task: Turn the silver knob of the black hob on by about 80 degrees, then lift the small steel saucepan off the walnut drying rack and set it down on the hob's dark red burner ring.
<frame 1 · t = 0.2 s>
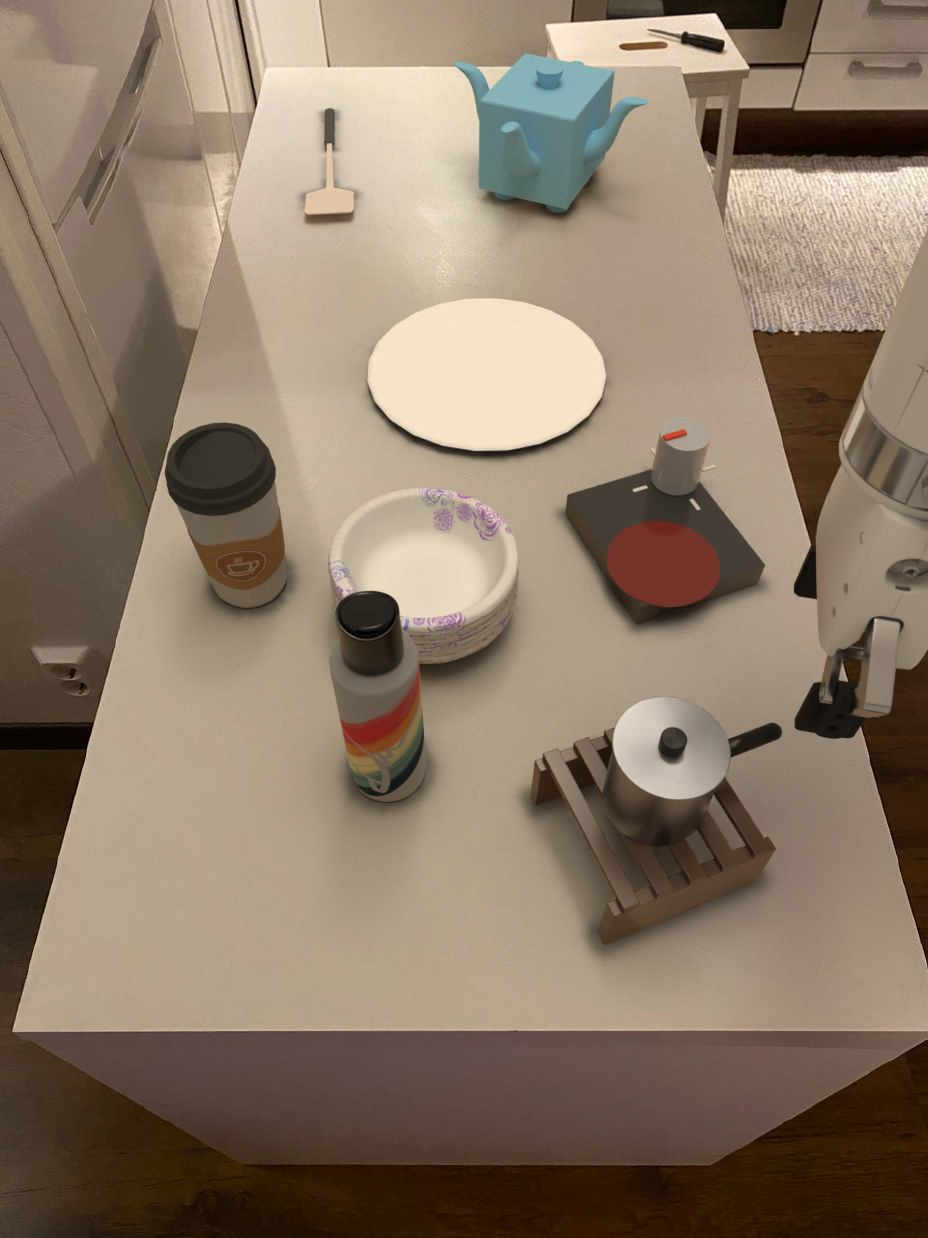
hand: (820, 659, 55), 19 cm above the counter, tool pointing down, fingers open, 9 cm apart
lotion bottle: (389, 771, 72), on the counter
spatula: (330, 165, 127), on the counter
teakettle: (538, 191, 123), on the counter
saucepan: (653, 799, 64), point 6 cm above the counter, touching drying rack
coffee cup: (252, 583, 83), on the counter
hob knob: (680, 455, 85), point 5 cm above the counter, hinge at 0.0°
burner ring: (663, 562, 81), resting on hob
hob: (658, 547, 85), on the counter
plate: (486, 377, 100), on the counter
paper bowls: (426, 614, 81), on the counter
drying rack: (640, 836, 68), on the counter
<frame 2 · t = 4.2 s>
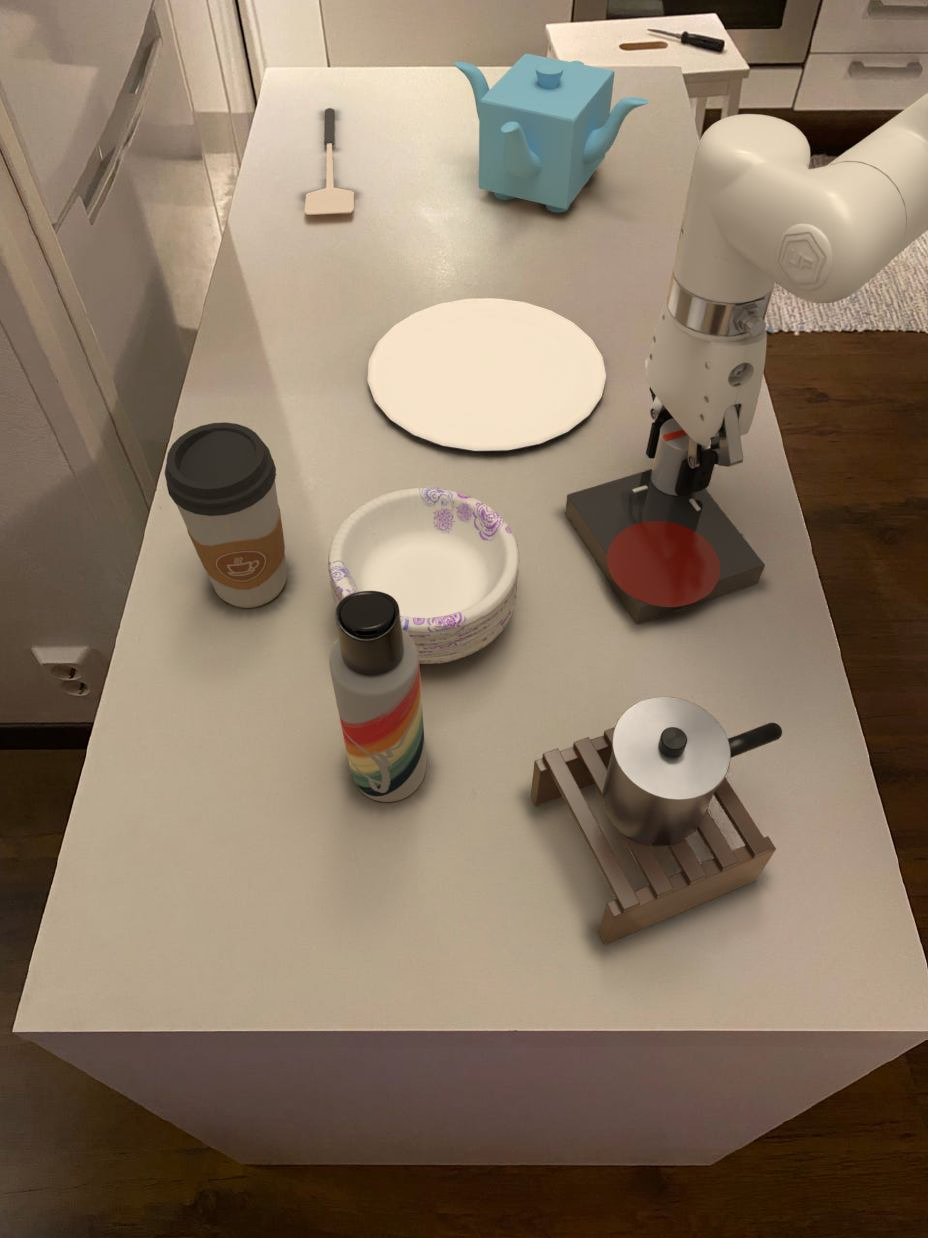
hand: (676, 469, 86), 4 cm above the counter, tool pointing down, fingers closed on hob knob, 4 cm apart
hob knob: (680, 455, 85), point 5 cm above the counter, hinge at -0.2°, touching gripper
everything else where it was.
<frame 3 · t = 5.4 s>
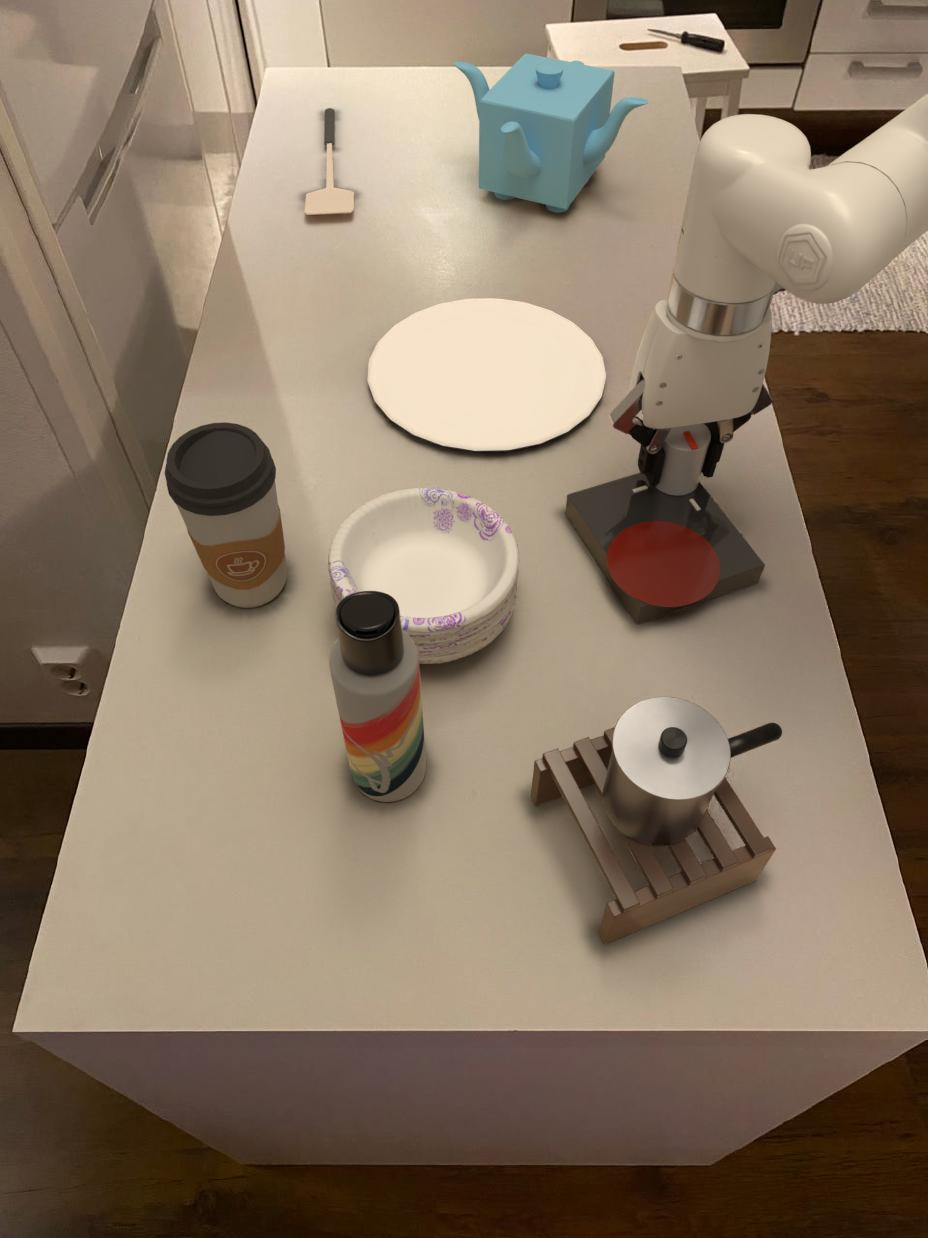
hand: (676, 469, 86), 4 cm above the counter, tool pointing down, fingers closed on hob knob, 4 cm apart
hob knob: (680, 455, 85), point 5 cm above the counter, hinge at 80.7°, touching gripper
everything else where it was.
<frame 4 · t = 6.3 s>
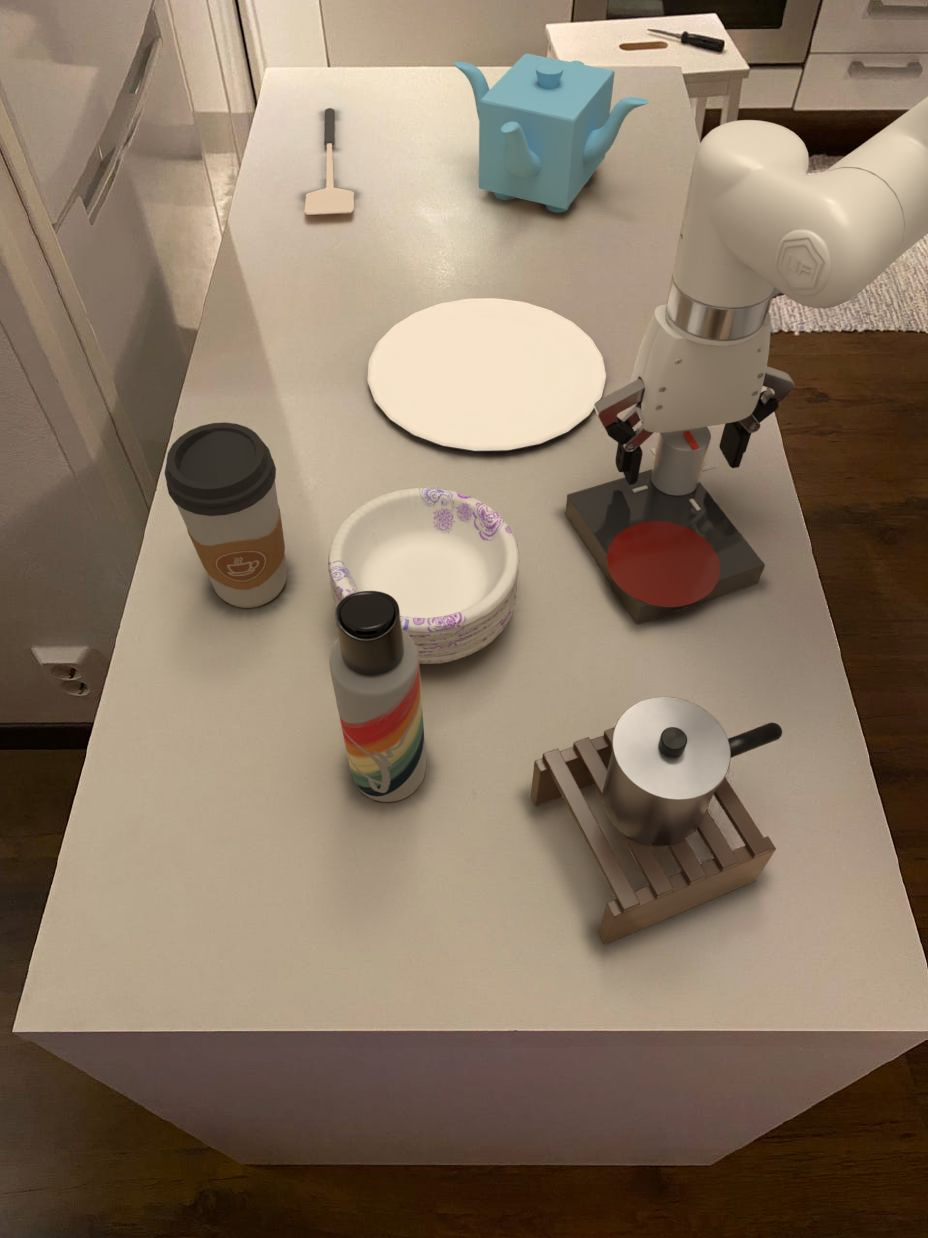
hand: (678, 465, 86), 4 cm above the counter, tool pointing down, fingers open, 9 cm apart
hob knob: (680, 455, 85), point 5 cm above the counter, hinge at 82.4°
everything else where it was.
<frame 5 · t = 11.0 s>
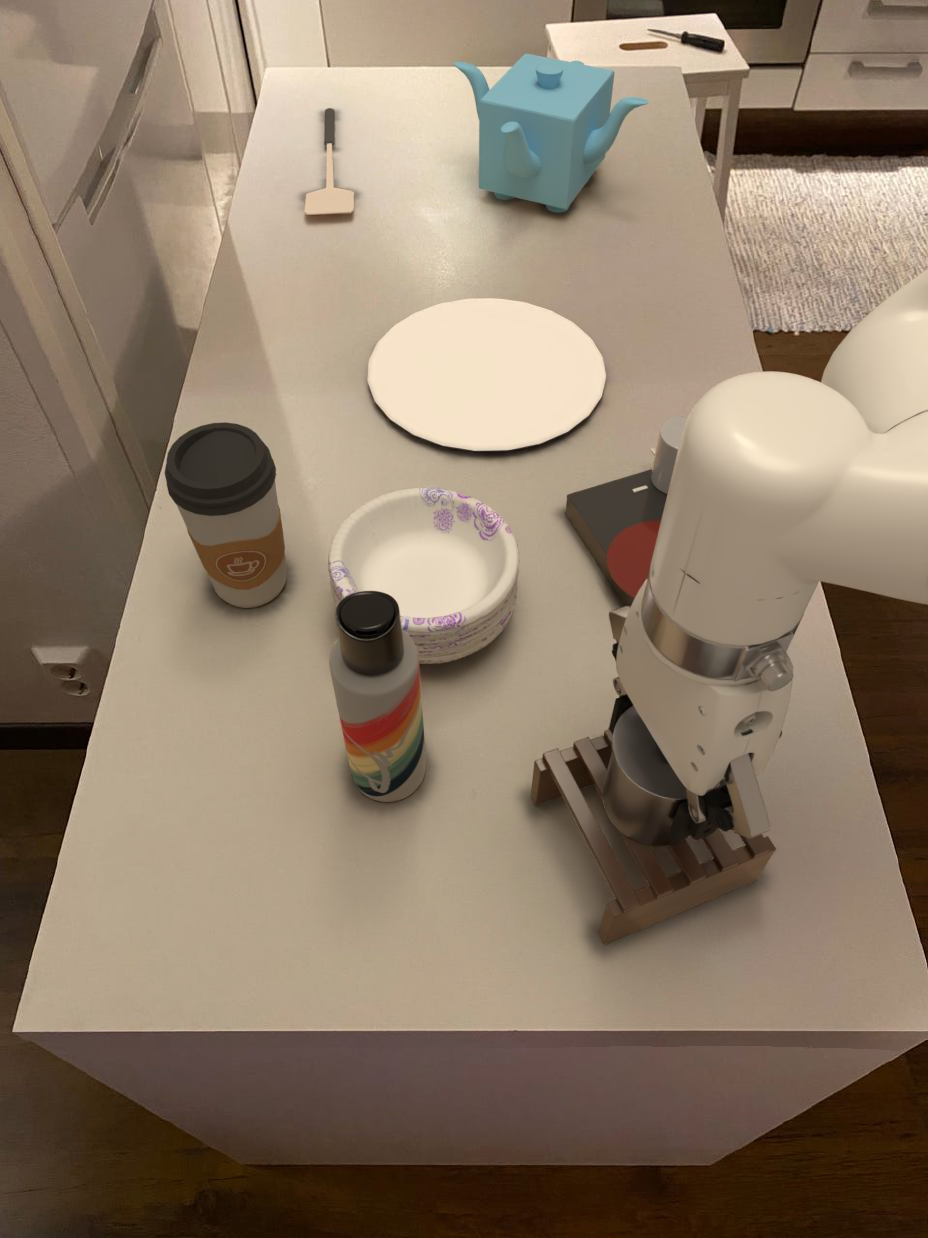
hand: (661, 775, 61), 9 cm above the counter, tool pointing down, fingers closed on saucepan, 7 cm apart
saucepan: (653, 799, 64), point 6 cm above the counter, touching drying rack, gripper
everything else where it was.
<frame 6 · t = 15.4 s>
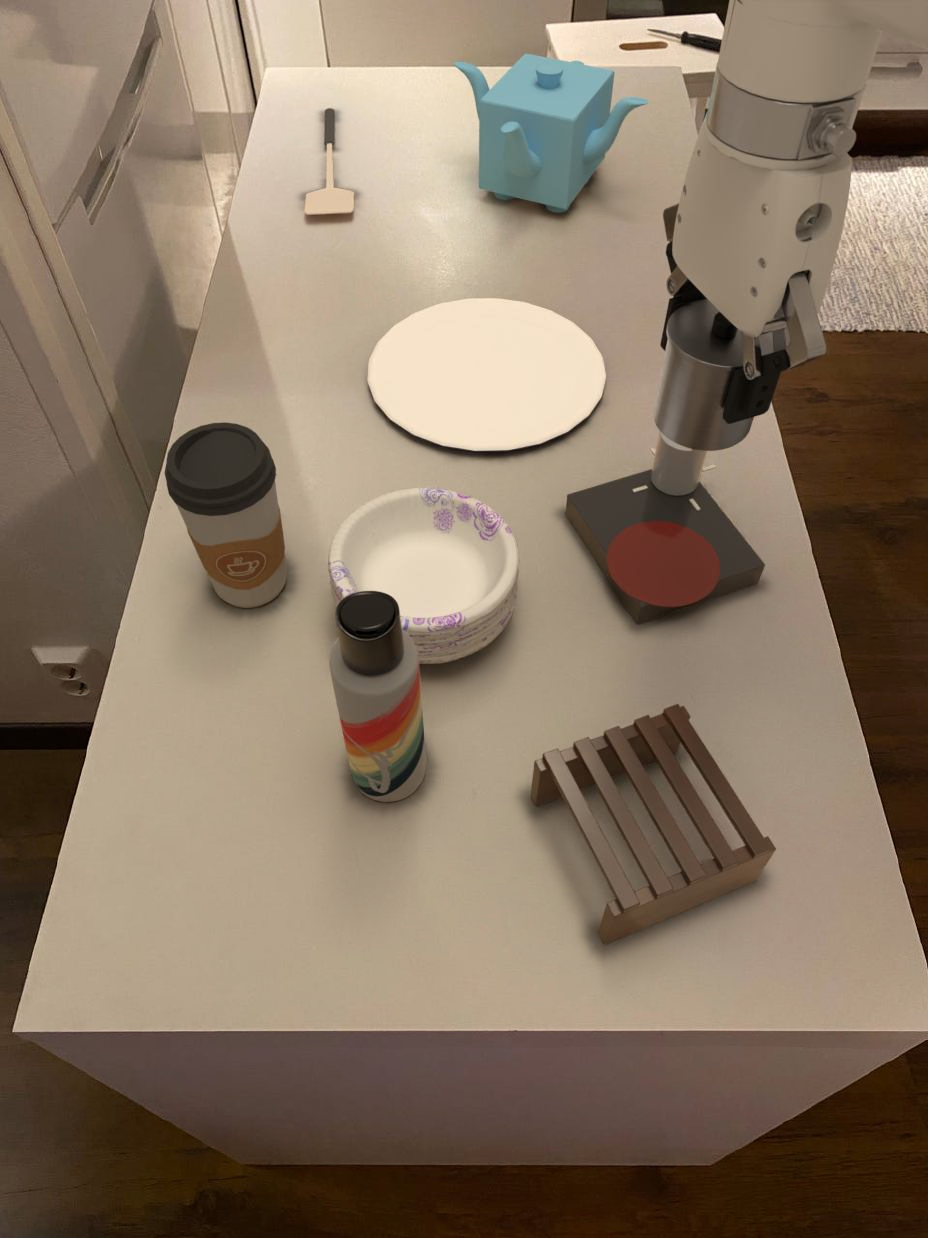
hand: (712, 378, 64), 23 cm above the counter, tool pointing down, fingers closed on saucepan, 7 cm apart
saucepan: (701, 417, 66), point 20 cm above the counter, touching gripper
everything else where it was.
when the fingers open (6 cm above the counter, at t = 19.7 s): saucepan stays where it is, resting on burner ring.
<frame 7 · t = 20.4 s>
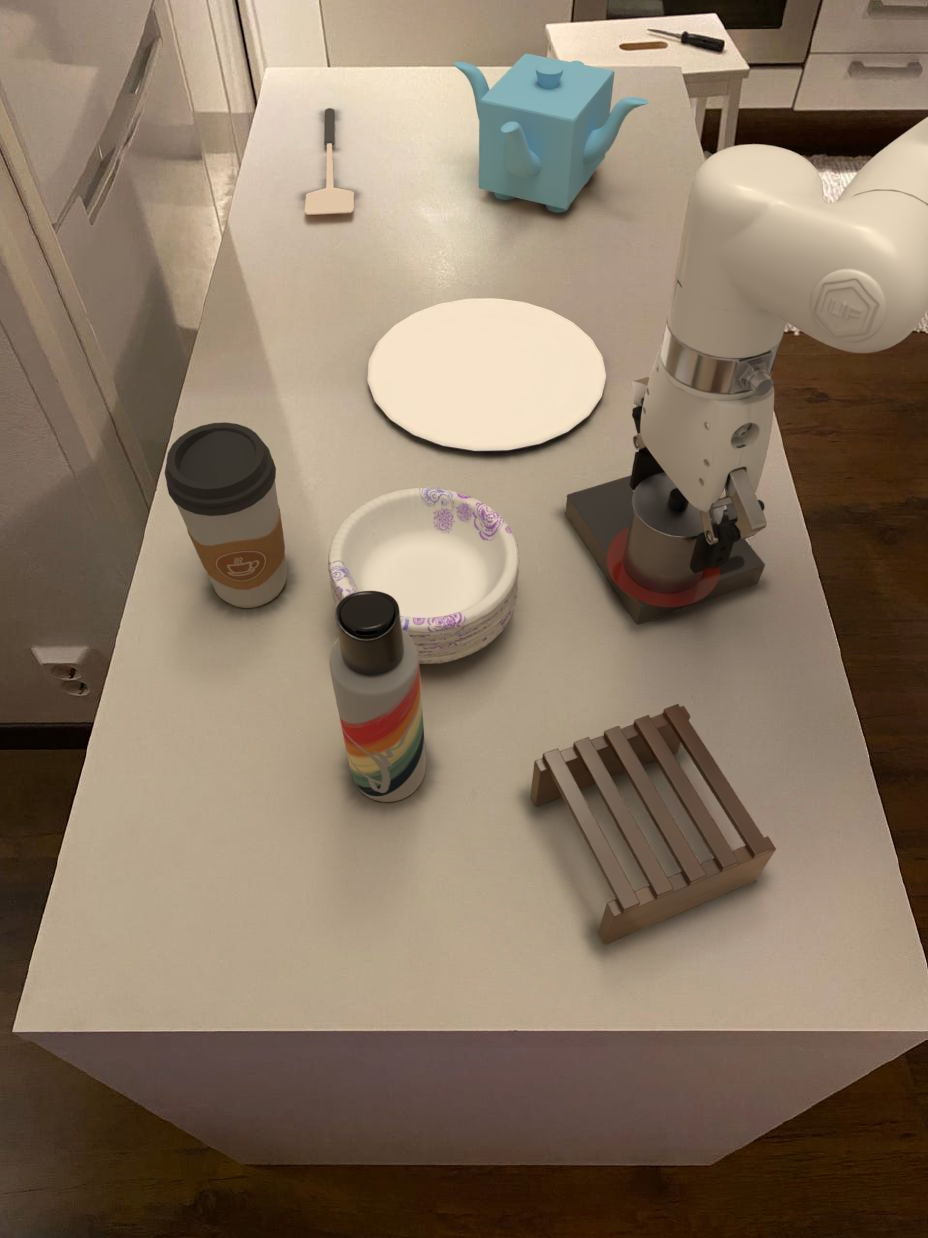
hand: (676, 523, 77), 8 cm above the counter, tool pointing down, fingers open, 9 cm apart
saucepan: (663, 562, 81), point 3 cm above the counter, touching burner ring
everything else where it was.
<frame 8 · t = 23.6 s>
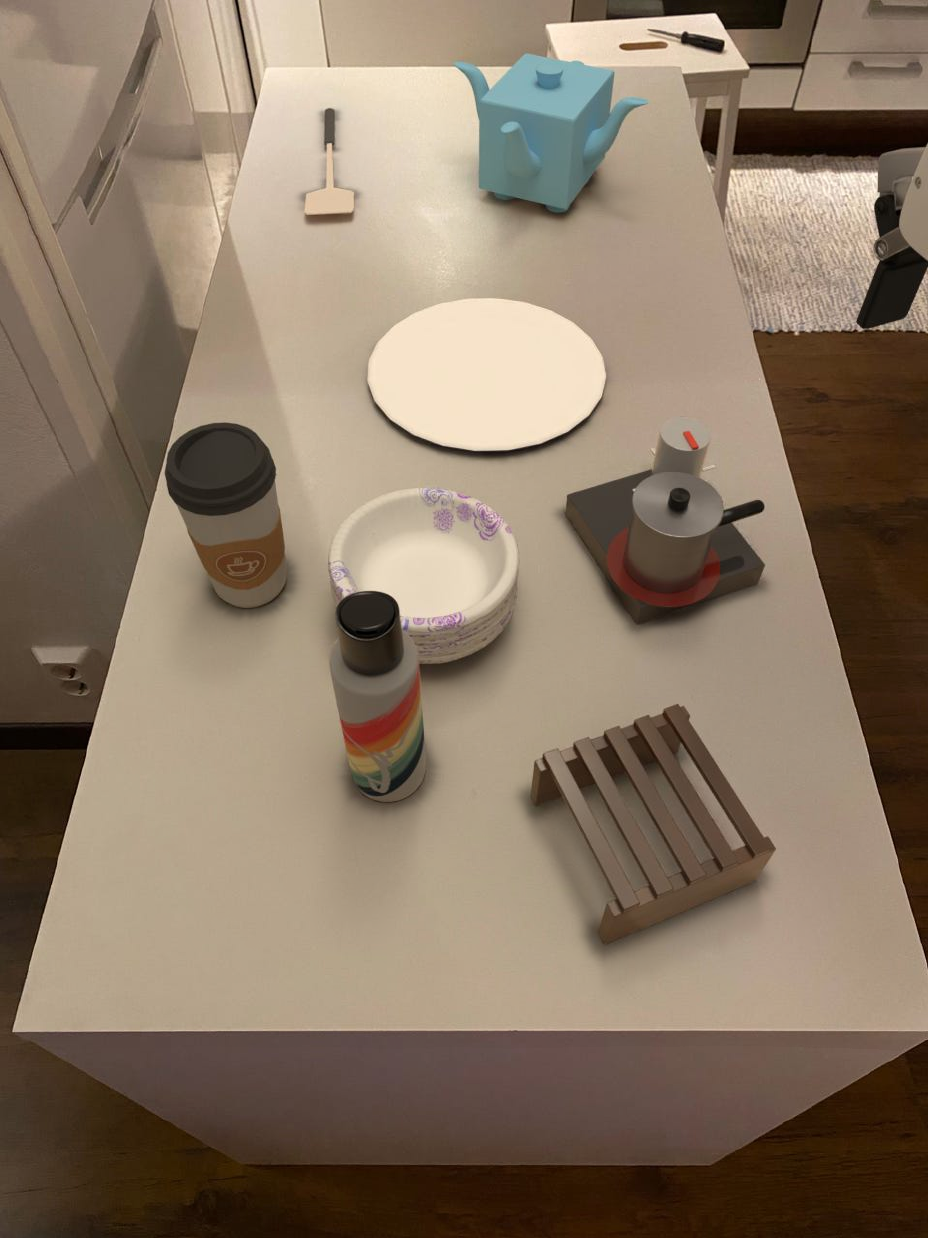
nothing on the counter moved.
at the end: hob knob at +82° (first picture: +0°); saucepan 0.0 cm from the target spot on the hob, point 2.6 cm above the hob's base; saucepan tilted 0° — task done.
